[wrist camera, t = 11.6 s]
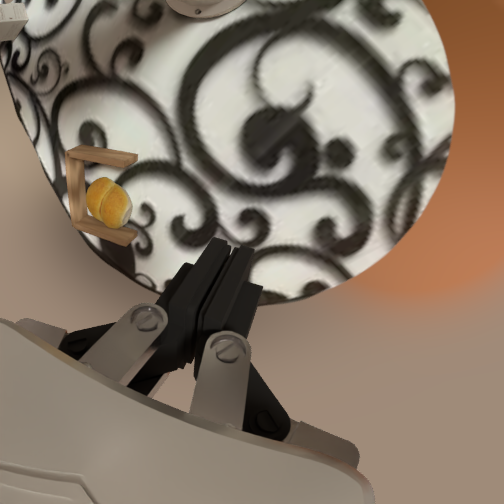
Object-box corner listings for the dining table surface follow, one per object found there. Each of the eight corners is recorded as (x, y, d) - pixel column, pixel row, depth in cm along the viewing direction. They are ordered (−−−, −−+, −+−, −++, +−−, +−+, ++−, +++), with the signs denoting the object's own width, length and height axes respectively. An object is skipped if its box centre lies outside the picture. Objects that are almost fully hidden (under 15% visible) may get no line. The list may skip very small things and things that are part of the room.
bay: (79, 144, 41) (64, 150, 38) (137, 154, 40) (123, 161, 37) (84, 218, 49) (72, 227, 46) (137, 235, 48) (125, 246, 45)
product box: (29, 19, 29) (0, 22, 23) (14, 40, 31) (-14, 44, 25) (24, 2, 26) (-4, 3, 20) (10, 22, 29) (-17, 25, 23)
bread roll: (98, 168, 43) (83, 176, 40) (139, 194, 44) (124, 205, 41) (89, 205, 48) (75, 215, 45) (126, 231, 49) (113, 243, 45)
